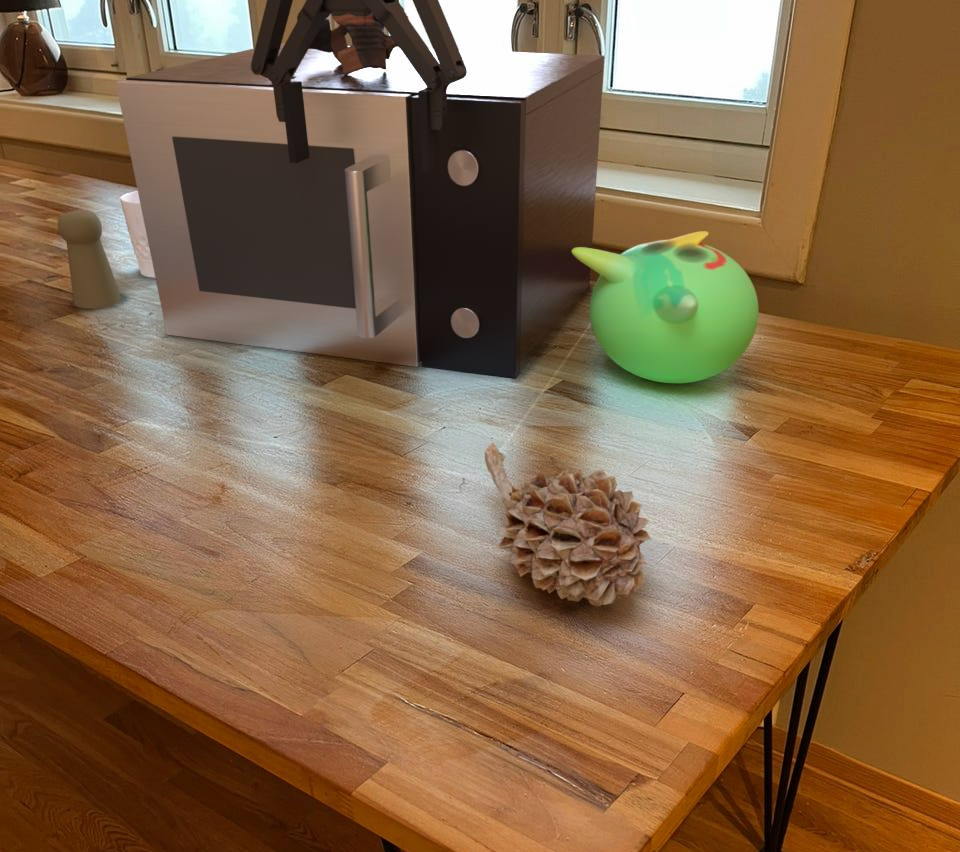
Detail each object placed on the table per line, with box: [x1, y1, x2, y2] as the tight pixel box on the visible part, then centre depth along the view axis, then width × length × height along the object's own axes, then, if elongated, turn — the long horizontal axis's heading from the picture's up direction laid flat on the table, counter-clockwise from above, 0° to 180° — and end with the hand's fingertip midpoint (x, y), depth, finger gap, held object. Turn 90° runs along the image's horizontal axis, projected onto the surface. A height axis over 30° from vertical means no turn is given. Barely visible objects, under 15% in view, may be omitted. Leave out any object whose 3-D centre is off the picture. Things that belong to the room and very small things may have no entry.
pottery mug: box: [296, 6, 409, 75], centre depth 105 cm, size 12×10×8 cm
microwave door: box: [115, 79, 422, 368], centre depth 102 cm, size 9×33×27 cm, turn 71°
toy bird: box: [572, 230, 760, 384], centre depth 102 cm, size 18×17×15 cm
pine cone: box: [484, 441, 652, 607], centre depth 73 cm, size 22×10×10 cm, turn 30°
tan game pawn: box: [57, 210, 122, 309], centre depth 123 cm, size 6×6×11 cm
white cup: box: [119, 190, 156, 279], centre depth 134 cm, size 8×8×10 cm
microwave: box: [125, 43, 605, 379], centre depth 115 cm, size 35×44×27 cm
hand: (363, 164), depth 92 cm, fingers open, 13 cm apart
